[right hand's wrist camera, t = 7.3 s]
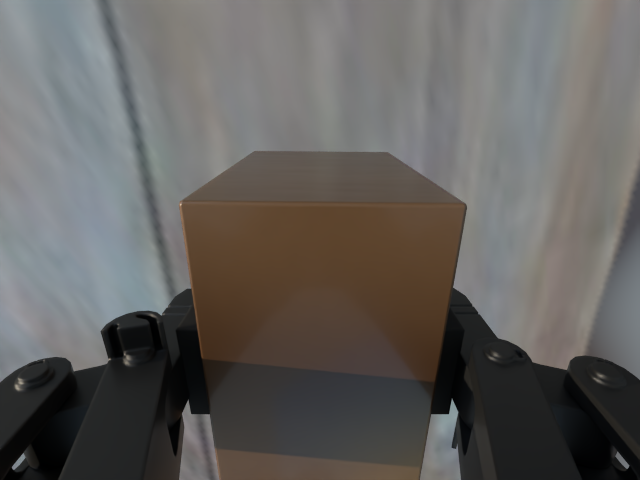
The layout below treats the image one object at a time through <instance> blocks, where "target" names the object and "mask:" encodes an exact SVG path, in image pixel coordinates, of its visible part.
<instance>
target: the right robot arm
mask: <svg viewBox="0 0 640 480" xmlns="http://www.w3.org/2000/svg"><path fill="white" fill-rule="evenodd" d="M101 334H102V338H103V341H104V345H105V348H106V352H107V355H108V358H109V361H108V363H107V364H105V365H102V366H97V367H93V368H88V369H83V370H79V371H73V368H72V365H71V362H70V361H68V360H67V359H66V358H60V357H52V358H45V359H41V360H38V361H34V362H31V363H29V364H27V365H25V366H23V367H21V368H19V369H17V370H16V371H14V372H13V373H12V374H10V375H9V376H8V377H6V378H5V379H4V380H3V381H2V382H0V480H179V474H180V464H181V454H182V444H183V434H184V422H183V417H182V412H183V410H184V408H185V405H186V403H187V401H188V399H189V404H190V409H191V414H210V411H209V404H208V398H207V391H206V384H205V377H204V371H203V364H202V357H201V350H200V343H199V337H198V330H197V323H196V316H195V309H194V303H193V296H192V289H186V290H185V291H183V292H182V293H180V294H179V295H177V296H176V297H175V298H174V299H173V300H172V302H171V303H170V304H169V306H168V308H166V309H165V311H164V312H163V313H162V316H161V315H160V314H158V313H157V312H152V311H137V312H133V313H128V314H125V315H123V316H120V317H118V318H116V319H114V320H113V321H111V322H109V323H108V324H106V326H105V327H104V328H103V329H102V330H101ZM452 399H453V401H454V403H455V406H456V408H457V410H458V417H457V422H456V427H455V432H454V437H453V442H452V448H455V449H456V447H457V443H458V453H459V463H460V473H461V480H640V380H639V379H638V378H637V377H635V376H634V375H633V374H631V373H630V372H629V371H627V370H626V369H624V368H622V367H620V366H618V365H616V364H614V363H613V362H610V361H608V360H604V359H602V358H598V357H591V356H578V357H575V358H573V359H572V360H571V361H570V363H569V366H568V369H567V370H564V369H559V368H554V367H549V366H545V365H540V364H537V363H533V362H532V360H531V359H530V357H529V356H528V355H527V353H526V352H525V351H523V350H522V349H521V348H520V347H518V346H517V345H515V344H512V343H510V342H508V341H506V340H502V339H498V338H497V337H496V335H495V334H494V333H493V331H492V330H491V329H490V327H489V326H488V325H487V324H486V322H485V321H484V320H483V318H482V317H481V316H480V314H478V312H477V310H476V309H475V308H474V307H472V304H471V303H470V301H469V300H468V299H467V297H466V296H465V295H463V294H462V293H460V292H459V291H457V290H456V289H454V288H453V290H452V296H451V302H450V308H449V313H448V319H447V325H446V331H445V336H444V342H443V348H442V354H441V359H440V365H439V371H438V377H437V382H436V388H435V394H434V400H433V405H432V411H431V414H449V411H450V405H451V400H452ZM617 451H618V452H619V453H620V455H621V456H622V457H623V458H624V459H625V461H626V462H627V463H628V464H629V465H630V466H629V468H628V469H626V468H625V467H624V466H623V465H622V464H621V463H620V462H619V461H618V459H617V458H616V457H615V455H616V453H617ZM23 453H24V455H25V457H26V458H25V459H24V460H23V462H22V463H21V464H20V465H19V466H18V467H17V468H16V469H15V470H13V469H12V466H13V465H14V464H15V462H16V461H17V460H18V459H19V457H20V456H21V455H22V454H23Z"/></svg>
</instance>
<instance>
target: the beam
mask: <svg viewBox="0 0 640 480" xmlns="http://www.w3.org/2000/svg"><path fill="white" fill-rule="evenodd" d="M179 207H180V214H181V221H182V228H183V235H184V241H185V248H186V255H187V262H188V269H189V275H190V282H191V289H192V296H193V303H194V309H195V316H196V323H197V330H198V337H199V343H200V350H201V357H202V364H203V371H204V377H205V384H206V391H207V398H208V404H209V411H210V418H211V425H212V432H213V438H214V445H215V452H216V459H217V466H218V472H219V479H220V480H420V474H421V469H422V463H423V457H424V451H425V446H426V440H427V434H428V428H429V423H430V417H431V411H432V405H433V400H434V394H435V388H436V382H437V377H438V371H439V365H440V359H441V354H442V348H443V342H444V336H445V331H446V325H447V319H448V313H449V308H450V302H451V296H452V290H453V285H454V279H455V273H456V267H457V262H458V256H459V250H460V244H461V239H462V233H463V227H464V221H465V216H466V210H467V206H466V204H465V203H464V202H462V201H461V200H459V199H458V198H456V197H455V196H453V195H452V194H450V193H449V192H447V191H446V190H444V189H443V188H441V187H440V186H438V185H437V184H435V183H433V182H432V181H430V180H429V179H427V178H426V177H424V176H423V175H421V174H420V173H418V172H417V171H415V170H414V169H412V168H411V167H409V166H408V165H406V164H405V163H403V162H402V161H400V160H399V159H397V158H396V157H394V156H393V155H391V154H390V153H388V152H296V151H254V152H252V153H251V154H249V155H248V156H247V157H245V158H244V159H242V160H241V161H239V162H238V163H236V164H235V165H233V166H232V167H230V168H229V169H227V170H226V171H224V172H223V173H221V174H220V175H218V176H217V177H215V178H214V179H213V180H211V181H210V182H208V183H207V184H205V185H204V186H202V187H201V188H199V189H198V190H196V191H195V192H193V193H192V194H190V195H189V196H187V197H186V198H184V199H183V200H182V201H180V204H179Z"/></svg>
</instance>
